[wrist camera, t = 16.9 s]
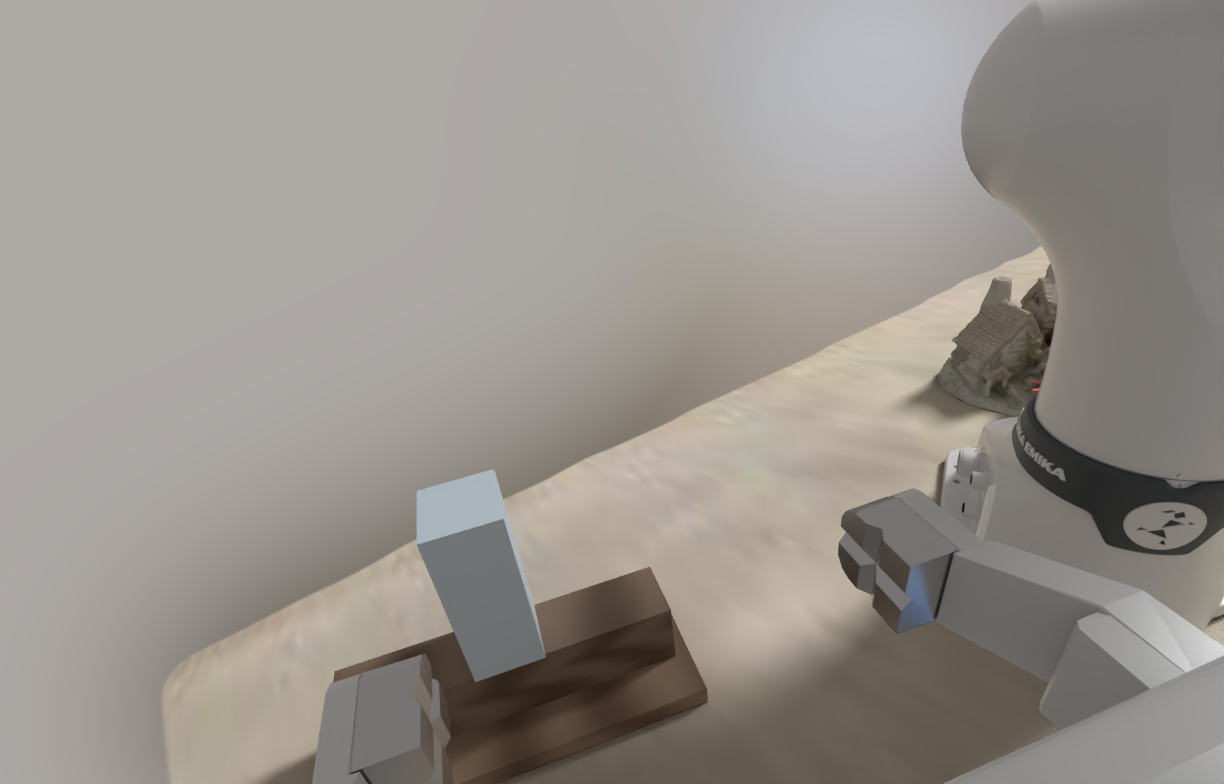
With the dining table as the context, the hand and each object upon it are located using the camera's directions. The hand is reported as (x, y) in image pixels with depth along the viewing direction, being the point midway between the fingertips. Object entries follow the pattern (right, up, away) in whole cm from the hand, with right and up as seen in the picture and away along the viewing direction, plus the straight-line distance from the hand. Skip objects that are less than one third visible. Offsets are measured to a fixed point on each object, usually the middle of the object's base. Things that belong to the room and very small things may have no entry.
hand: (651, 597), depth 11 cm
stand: (-7, -18, +30) cm, 36 cm away
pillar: (-8, -13, +27) cm, 31 cm away
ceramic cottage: (+46, +3, +53) cm, 71 cm away
